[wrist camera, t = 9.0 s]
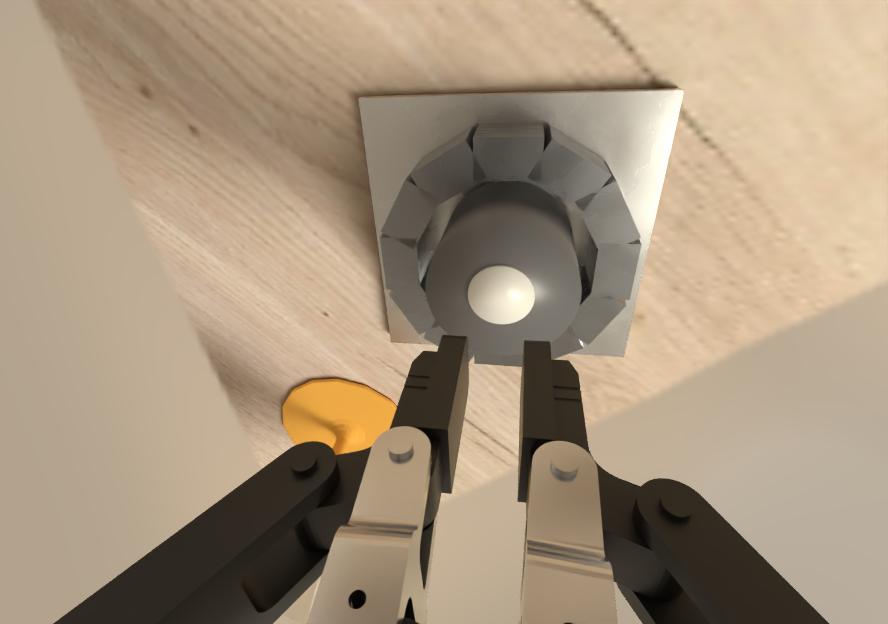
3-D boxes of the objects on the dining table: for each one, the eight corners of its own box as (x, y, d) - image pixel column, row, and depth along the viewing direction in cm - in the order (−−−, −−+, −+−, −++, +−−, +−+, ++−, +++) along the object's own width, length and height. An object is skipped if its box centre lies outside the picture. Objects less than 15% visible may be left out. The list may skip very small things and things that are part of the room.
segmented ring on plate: (362, 96, 18) (335, 108, 15) (679, 87, 16) (707, 100, 14) (393, 335, 25) (377, 372, 22) (621, 349, 23) (633, 391, 20)
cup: (436, 464, 30) (362, 814, 17) (326, 480, 33) (191, 787, 20) (375, 364, 26) (214, 723, 13) (256, 392, 29) (26, 706, 16)
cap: (442, 180, 19) (418, 221, 15) (579, 180, 18) (591, 224, 14) (448, 294, 22) (429, 353, 18) (566, 299, 21) (572, 362, 17)
